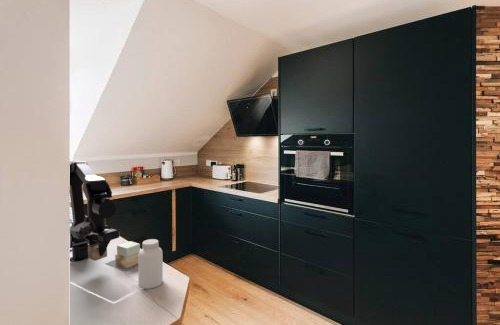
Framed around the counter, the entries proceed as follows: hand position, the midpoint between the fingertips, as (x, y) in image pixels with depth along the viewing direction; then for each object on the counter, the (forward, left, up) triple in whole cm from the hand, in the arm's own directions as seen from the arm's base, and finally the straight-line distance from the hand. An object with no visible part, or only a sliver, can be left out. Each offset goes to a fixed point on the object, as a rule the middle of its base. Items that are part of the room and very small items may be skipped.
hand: (97, 254), depth 102 cm
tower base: (+3, +11, -7) cm, 13 cm away
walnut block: (0, 0, -1) cm, 1 cm away
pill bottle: (+23, +5, -8) cm, 25 cm away
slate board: (+2, +11, -7) cm, 13 cm away
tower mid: (+3, +11, -3) cm, 12 cm away
